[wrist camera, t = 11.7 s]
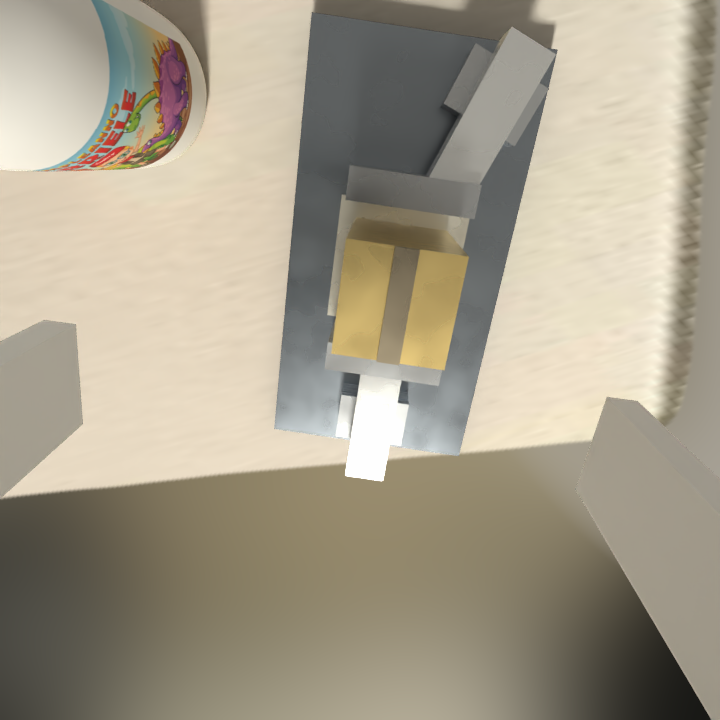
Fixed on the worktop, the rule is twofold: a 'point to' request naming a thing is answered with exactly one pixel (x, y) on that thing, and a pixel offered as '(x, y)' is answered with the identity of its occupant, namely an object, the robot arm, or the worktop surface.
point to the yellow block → (398, 294)
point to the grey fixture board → (402, 215)
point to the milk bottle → (95, 86)
